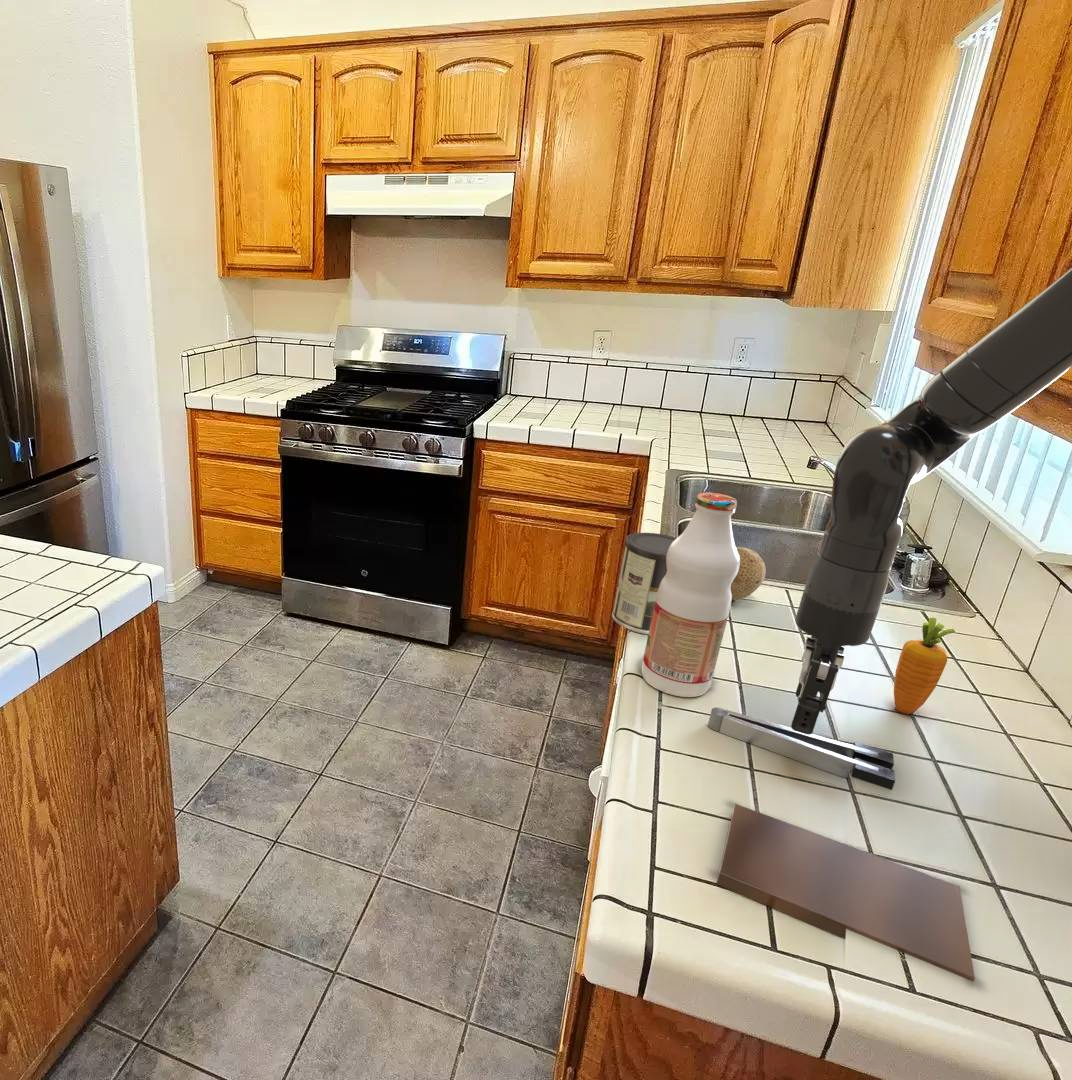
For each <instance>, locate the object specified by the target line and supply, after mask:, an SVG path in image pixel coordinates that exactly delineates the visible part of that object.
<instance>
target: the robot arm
mask: <svg viewBox="0 0 1072 1080" xmlns="http://www.w3.org/2000/svg"><path fill="white" fill-rule="evenodd" d="M1070 369H1072V267H1071V268H1069V269H1068V270H1067V271H1066V272H1064V273H1063V274H1062V275H1061V276H1060V277H1058V278H1057V279H1056V280H1055V281H1053V282H1052V283H1051V284H1050V285H1049V286H1047V287H1045V289H1044V290H1042V291H1041V292H1040V293H1038V294H1037V295H1036V296H1034V297H1033V298H1032V299H1031V300H1029V301H1027V302H1026V303H1025V304H1024V305H1023V306H1022V307H1020V308H1019V309H1018V310H1016V311H1015V312H1013V313H1012V314H1011V315H1009V316H1008V317H1007V318H1005V319H1004V320H1003V321H1001V322H1000V323H999V324H998V325H996V326H995V327H994V328H992V329H991V330H990V331H988V332H987V333H986V334H985V335H983V336H982V337H981V338H979V340H977V341H976V342H975V343H973V344H972V345H971V346H969V347H968V348H967V349H965V350H964V351H963V352H962V353H961V354H959V355H958V356H957V357H956V358H954V359H953V360H952V361H951V362H950V363H948V364H947V365H946V366H944V367H943V368H942V369H941V370H940V371H938V372H937V373H936V374H935V375H934V376H933V377H932V378H930V379H929V380H928V381H927V382H926V383H925V385H924V386H923V387H922V389H921V390H920V394H919V395H918V396H917V397H916V398H914V399H913V400H912V401H910V402H909V403H908V404H907V405H906V406H904V407H903V408H902V409H901V410H899V411H898V412H897V413H896V414H894V415H893V416H892V417H890V418H889V419H887V420H886V421H885V422H883V423H881V424H880V425H877V426H874V427H870V428H867V429H864V430H861V431H860V432H858V433H856V434H854V435H853V436H852V437H851V438H850V439H849V440H848V441H847V442H846V443H845V445H844V447H843V448H842V451H841V452H840V454H839V456H838V458H837V462H836V465H835V470H834V474H833V480H832V489H831V498H830V517H829V519H828V521H827V524H826V527H825V530H824V533H823V537H822V539H821V543H820V546H819V549H818V552H817V555H816V557H815V559H814V561H813V563H812V566H811V567H810V569H809V572H808V576H807V579H806V582H805V585H804V588H803V592H802V594H801V595H802V596H801V597H800V602H799V605H798V609H797V612H796V614H795V619H794V621H795V624H796V626H797V627H798V628H799V629H800V631H802V632H803V633H805V634H806V635H808V636H806V638H805V641H804V645H803V651H802V656H801V661H802V664H801V666H802V667H801V670H800V674H799V678H798V684H797V687H796V691H795V696H796V697H797V706H796V709H795V710H794V711H795V712H794V714H793V718H792V720H791V725H790V728H792V729H793V730H795V731H798V732H801V733H804V734H807V735H810V734H813V732H814V729H815V726H816V723H817V720H818V717H819V714H820V713H824V711H826V709H827V701H828V700H829V696H830V693H831V691H832V690H834V687H835V684H836V681H837V675H838V673H839V670H840V669H841V668H842V667H843V663H844V659H845V655H844V652H845V647H846V646H847V647H848V646H850V647H857V646H862V645H864V644H866V643H867V642H868V641H869V639H870V636H871V634H872V631H873V629H874V625H875V622H876V620H877V618H878V614H879V612H880V608H881V605H882V603H883V600H884V597H885V595H886V592H887V588H888V583H889V577H890V573H891V569H892V566H893V563H894V561H895V558H896V555H897V552H898V549H899V546H900V543H901V540H902V536H903V529H904V526H903V522H902V520H901V519H900V515H901V511H902V508H903V504H904V502H905V498H906V495H907V492H908V489H909V487H910V485H912V484H915V483H916V482H918V481H920V480H921V479H923V478H925V477H926V476H927V475H929V474H930V473H931V472H933V471H934V470H935V469H937V468H938V467H940V466H941V465H942V464H943V463H944V462H946V461H947V460H948V459H949V458H951V457H952V456H953V455H954V454H956V453H957V452H958V451H959V450H960V449H961V448H962V447H964V446H965V445H966V444H967V443H968V442H970V441H971V440H972V439H973V438H974V437H975V436H977V435H978V434H980V433H982V432H983V431H985V430H987V429H989V428H990V427H992V426H994V425H995V424H996V423H998V422H999V421H1001V420H1002V419H1004V418H1005V417H1006V416H1008V415H1010V414H1011V413H1013V412H1014V411H1015V410H1017V409H1018V408H1019V407H1020V406H1022V405H1024V404H1025V403H1026V402H1028V401H1029V400H1030V399H1032V398H1034V397H1035V396H1036V395H1037V394H1039V393H1040V392H1042V391H1043V390H1044V389H1046V388H1047V387H1048V386H1049V385H1051V384H1053V382H1054V381H1056V380H1057V379H1059V378H1060V377H1061V376H1062V375H1064V374H1065V373H1066V372H1068V370H1070ZM818 693H820V694H819V697H817V696H818Z"/></svg>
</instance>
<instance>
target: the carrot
mask: <svg viewBox="0 0 1072 1080" xmlns="http://www.w3.org/2000/svg"><path fill="white" fill-rule="evenodd" d="M921 628H922V629H921V632H922V639H911V640H907V641H906V642H905V643H904V644H903V646H902V649H901V652H900V654H899V658H898V662H897V664H896V669H895V675H894V681H893V682H894V683H893V684H894V685H893V700H894V706H895V710H896V711H897V712H899V713H901V714H905V715H912V714H913V713H915V712H916V711H917V710H919V709H920V708H921V707H922V706H923V705H924V704H925V703H926V702H927V700H928V699H929V698H930V696H931V694H932V693H933V692H934V691H935V689H936V687H937V686H938V683H939V681H940V679H941V677H942V675H943V672H944V670H945V668H946V665H947V663H948V655H947V651H946V650H945V648H944V647H942V646H941V645H938V644H940V643H941V642H942V641H943V640H942V639H941V638H943V637H944V636H946V635H950V634H954V633H956V630H955V629H954V628H947V629H944V628H945V625H944V624H942V623H940V622H938V623H937V618H936V617H929V618H928V622H922V626H921ZM943 629H944V630H943Z"/></svg>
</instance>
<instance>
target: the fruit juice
mask: <svg viewBox="0 0 1072 1080" xmlns="http://www.w3.org/2000/svg"><path fill="white" fill-rule="evenodd" d="M694 501H695V504H694V506H695V512H694V513H693V516H692V518H691V519H690V521H689V522H688V524H687V526H686V527H685V528H684V530H683V531H682V533H680V535H678V536H677V537H675V538H676V539H675V540H674V541H673V542H672V543H671V545H670V546H669V549H668V552H667V555H666V564H667V573H666V575H665V576H664V578H663V579H662V581H661V583H660V586H659V589H658V592H657V596H656V602H655V606H654V611H653V616H652V620H651V625H650V630H649V634H647V639H646V644H645V647H644V654H643V658H642V663H641V676H642V678H643V680H644V681H645V682H646V683H648V685H649V686H651V687H653V689H656V690H658V691H660V692H662V693H665V694H668V695H671V696H676V697H682V698H696V697H700V696H703V695H705V694H706V693H707V692H708V690H709V689H710V687H711V684H712V681H713V677H714V674H715V670H716V666H717V662H718V657H719V654H720V651H721V646H722V642H723V638H724V635H725V631H726V628H727V627H726V626H727V622H728V619H729V616H730V611H731V607H732V601H733V600H732V593H731V589H730V587H731V583H732V582H733V580H734V579H735V577H736V575H737V573H738V571H739V566H740V556H739V553H738V551H737V549H736V547H737V546H736V543H735V538H734V532H733V524H732V515H733V514H735V513H736V510H737V505H738V501H737V498H734V497H732V496H730V495H727V494H723V493H718V492H709V491H708V492H707V491H705V492H699V493H698V494H697V495H696V498H695V500H694Z"/></svg>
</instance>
